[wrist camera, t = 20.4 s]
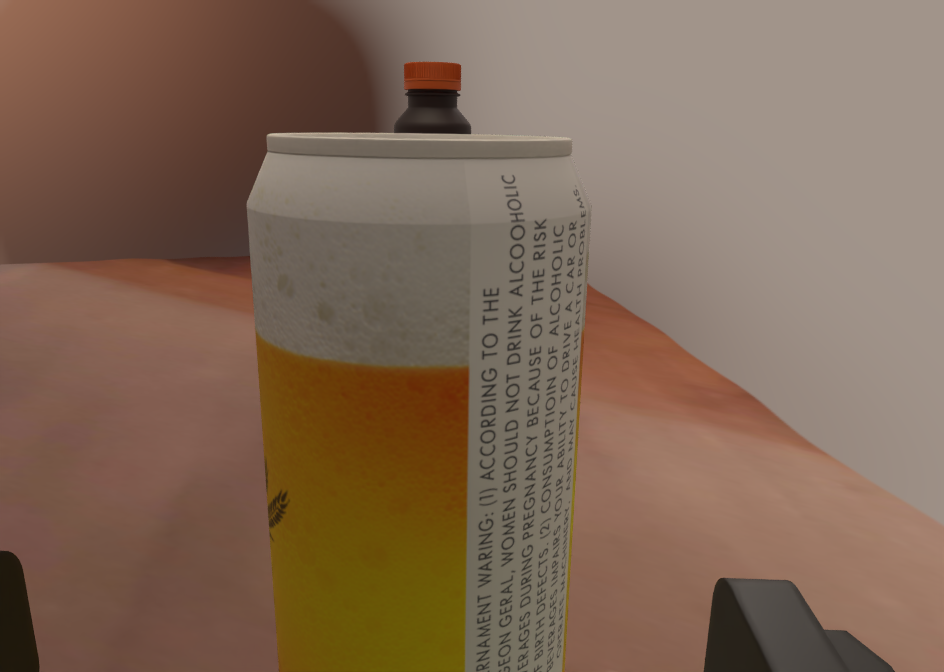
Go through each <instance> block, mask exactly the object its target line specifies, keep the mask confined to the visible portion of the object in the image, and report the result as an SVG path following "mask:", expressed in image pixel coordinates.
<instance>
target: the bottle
mask: <svg viewBox="0 0 944 672" xmlns="http://www.w3.org/2000/svg"><path fill="white" fill-rule="evenodd" d="M404 81H405V82H404V89H405V90H408V92H407V93H406V94H405V95H407V96H408V108H407V110H406V111H405V112H404V113H403V114H402V115H401V117H400V118H399V119H398V120H397V121H396V123H395V125H394V133H417V134H471V126H470V124H469V122H468V121H467V120H466V119H465V117H464V116H463V115H462V114H461V112H460V111H459V110H458V109H457V97H458V96H460V94H458V93H457V91H460V90H461V83H460V82H461V65H460V64H456V63H447V62H410V63H406V64H405V65H404Z"/></svg>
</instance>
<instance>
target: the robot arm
mask: <svg viewBox="0 0 944 672" xmlns="http://www.w3.org/2000/svg"><path fill="white" fill-rule="evenodd" d="M0 672H39V658H38V653H37V647H36V641H35V636H34V630H33V624H32V619H31V613H30V607H29V601H28V596H27V590H26V584H25V579H24V573H23V569H22V565H21V563H20V561H19V559H18V558H17V556H15V555H14V554H13V553H11V552H9V551H0ZM704 672H895V671H894V670H893V669H892V667H891V666H890V665H889V664H888V663H886V662H885V661H884V660H883V659H881V658H880V657H879V656H877V655H876V654H875V653H874V652H872V651H871V650H870V649H869V648H867V647H866V646H865V645H864V644H862V643H861V642H860V641H858V640H857V639H856V638H855V637H853V636H852V635H851V634H850V633H848V632H847V631H841V630H824V629H823V628H822V626H821V625H820V623H819V621H818V620H817V618H816V617H815V615H814V614H813V612H812V610H811V609H810V607H809V606H808V604H807V603H806V601H805V599H804V598H803V596H802V595H801V593H800V591H799V590H798V588H797V587H796V586H795V585H794V584H793V583H792V582H791V581H788V580H765V579H736V578H720V579H719V580H718V581H717V583H716V585H715V588H714V592H713V599H712V607H711V616H710V624H709V632H708V641H707V649H706V657H705V666H704Z"/></svg>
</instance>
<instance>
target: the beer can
mask: <svg viewBox="0 0 944 672" xmlns="http://www.w3.org/2000/svg"><path fill="white" fill-rule="evenodd" d="M267 148H268V150H269V151H268V152H267V155H266V157H265V159H264V162H263V164H262V167H261V169H260V172H259V174H258V177H257V179H256V182H255V184H254V186H253V189H252V191H251V194H250V196H249V199H248V201H247V215H248V229H249V241H250V242H249V244H250V258H251V272H252V287H253V301H254V316H255V330H256V345H257V359H258V373H259V388H260V402H261V417H262V431H263V446H264V460H265V475H266V489H267V503H268V518H269V532H270V547H271V561H272V576H273V590H274V605H275V619H276V633H277V648H278V662H279V672H564V668H565V651H566V634H567V617H568V600H569V583H570V566H571V549H572V532H573V515H574V498H575V481H576V464H577V446H578V429H579V412H580V395H581V378H582V361H583V344H584V327H585V310H586V293H587V276H588V259H589V241H590V225H591V208H592V206H591V203H590V200H589V198H588V195H587V193H586V190H585V188H584V185H583V183H582V180H581V178H580V176H579V173H578V170H577V168H576V166H575V163H574V161H573V158H572V156H571V155H570V154H571V152H572V139H570V138H563V137H546V136H517V135H516V136H515V135H476V134H417V133H277V134H269V135H267Z"/></svg>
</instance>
